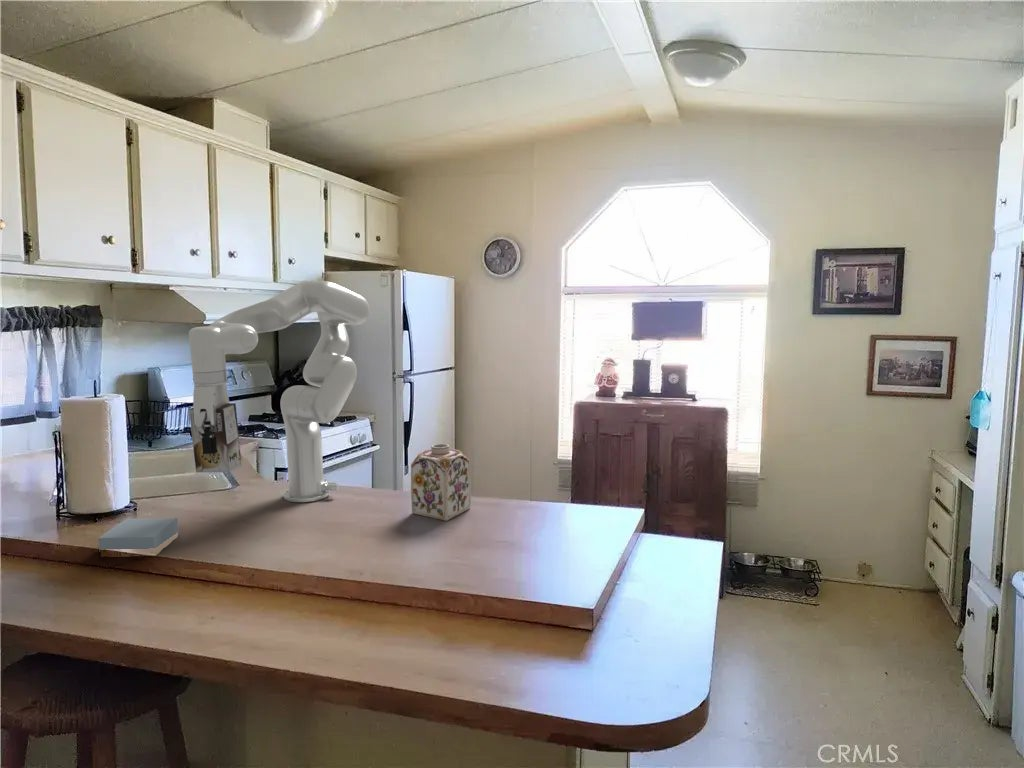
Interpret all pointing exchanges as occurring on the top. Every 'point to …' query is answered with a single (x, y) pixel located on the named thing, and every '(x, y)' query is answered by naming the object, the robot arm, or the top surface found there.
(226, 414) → the cookie box
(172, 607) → the top surface
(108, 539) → the grey block
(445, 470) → the decorative jar
